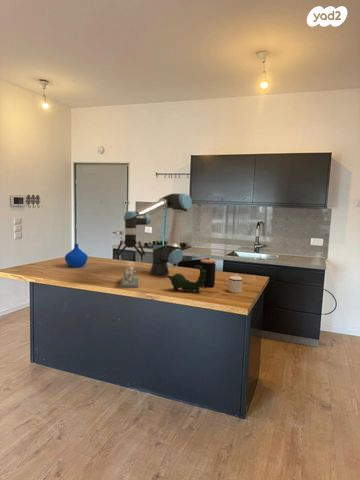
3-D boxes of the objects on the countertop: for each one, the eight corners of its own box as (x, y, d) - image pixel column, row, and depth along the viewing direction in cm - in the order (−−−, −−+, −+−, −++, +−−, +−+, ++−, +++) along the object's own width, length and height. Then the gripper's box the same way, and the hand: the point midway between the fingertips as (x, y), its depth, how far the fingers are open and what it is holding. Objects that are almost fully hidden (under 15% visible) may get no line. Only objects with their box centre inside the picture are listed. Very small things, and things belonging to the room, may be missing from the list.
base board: (138, 279, 241) (138, 277, 241) (137, 287, 219) (138, 285, 219) (121, 279, 240) (121, 277, 239) (119, 287, 218) (119, 285, 218)
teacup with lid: (243, 290, 223) (244, 273, 222) (240, 293, 215) (241, 276, 214) (225, 288, 228) (226, 271, 226) (222, 291, 219) (223, 274, 218)
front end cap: (135, 284, 222) (135, 276, 222) (135, 285, 219) (135, 277, 219) (122, 284, 221) (122, 276, 221) (122, 285, 218) (122, 277, 218)
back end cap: (135, 278, 240) (135, 270, 240) (135, 279, 237) (135, 271, 237) (123, 277, 239) (123, 270, 238) (123, 278, 236) (123, 271, 236)
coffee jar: (205, 283, 240) (206, 258, 238) (217, 286, 233) (218, 260, 231) (196, 285, 231) (197, 260, 229) (208, 288, 225) (210, 262, 223)
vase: (65, 264, 286) (65, 242, 284) (87, 264, 291) (87, 242, 289) (64, 268, 268) (64, 245, 266) (87, 268, 274) (88, 245, 272)
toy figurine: (203, 293, 219) (167, 286, 223) (207, 265, 217) (170, 259, 221) (202, 297, 210) (163, 290, 214) (206, 268, 208) (167, 261, 211)
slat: (132, 275, 240) (132, 267, 239) (131, 282, 218) (131, 273, 218) (126, 275, 239) (127, 267, 239) (125, 282, 218) (125, 273, 217)
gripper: (148, 233, 231) (148, 263, 233) (112, 233, 228) (112, 263, 230) (148, 235, 223) (148, 265, 226) (111, 234, 220) (111, 265, 223)
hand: (130, 264), depth 228 cm, fingers open, 13 cm apart
